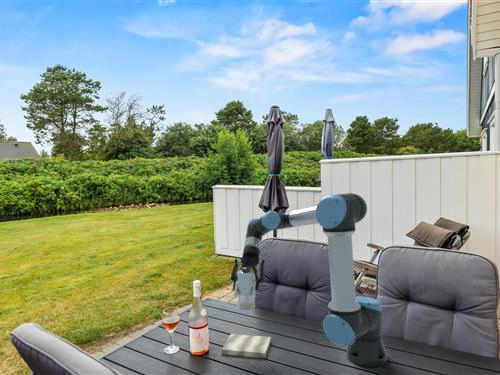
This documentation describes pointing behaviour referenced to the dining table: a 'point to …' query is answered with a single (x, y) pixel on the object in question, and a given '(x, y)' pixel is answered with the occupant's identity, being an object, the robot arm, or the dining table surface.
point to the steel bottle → (245, 289)
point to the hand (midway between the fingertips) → (244, 297)
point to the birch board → (247, 346)
